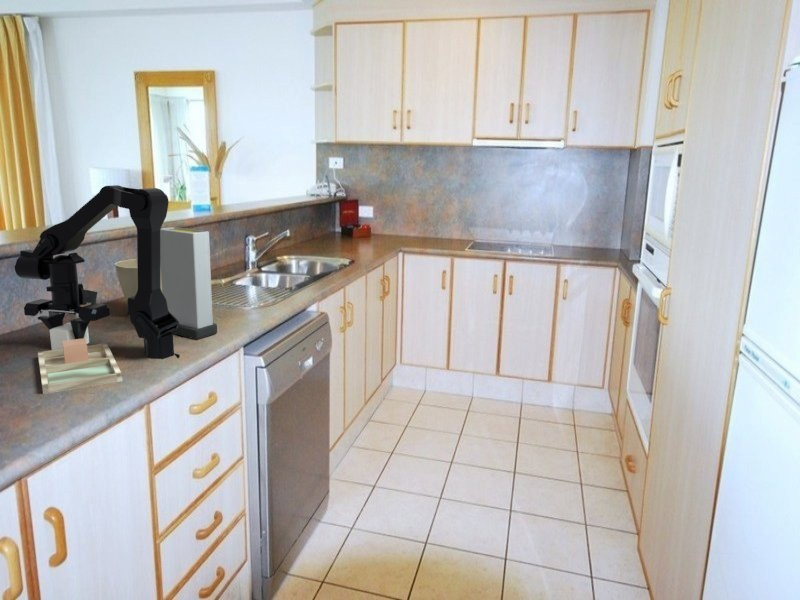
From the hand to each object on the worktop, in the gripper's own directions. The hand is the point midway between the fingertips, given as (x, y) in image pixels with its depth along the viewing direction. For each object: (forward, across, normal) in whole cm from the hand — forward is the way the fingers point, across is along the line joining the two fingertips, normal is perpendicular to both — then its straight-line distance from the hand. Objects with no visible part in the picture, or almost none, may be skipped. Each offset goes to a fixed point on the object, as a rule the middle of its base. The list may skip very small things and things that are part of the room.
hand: (70, 343), depth 135 cm
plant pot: (+2, +2, -34) cm, 34 cm away
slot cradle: (+2, -12, +13) cm, 18 cm away
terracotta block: (0, -8, +9) cm, 12 cm away
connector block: (+2, 0, 0) cm, 2 cm away
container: (+2, -19, -21) cm, 28 cm away
